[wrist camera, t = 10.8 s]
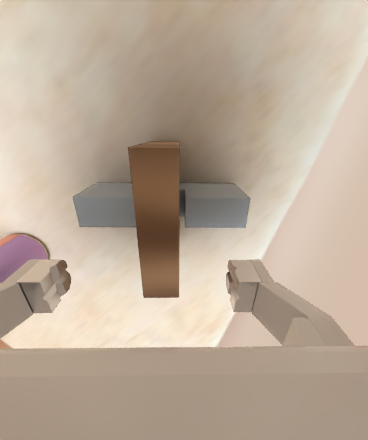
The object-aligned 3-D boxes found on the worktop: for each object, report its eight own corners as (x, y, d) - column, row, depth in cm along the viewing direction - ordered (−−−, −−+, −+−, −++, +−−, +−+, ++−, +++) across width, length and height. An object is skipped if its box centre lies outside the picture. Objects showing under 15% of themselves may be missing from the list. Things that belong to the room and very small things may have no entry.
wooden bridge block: (151, 141, 20) (128, 147, 11) (179, 141, 20) (178, 147, 11) (156, 238, 25) (143, 297, 16) (179, 238, 25) (178, 297, 16)
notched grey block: (97, 182, 22) (72, 196, 17) (234, 183, 22) (250, 198, 17) (101, 206, 23) (79, 226, 18) (231, 207, 24) (245, 227, 19)
